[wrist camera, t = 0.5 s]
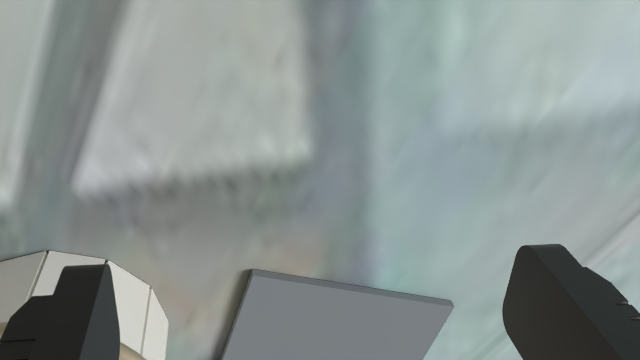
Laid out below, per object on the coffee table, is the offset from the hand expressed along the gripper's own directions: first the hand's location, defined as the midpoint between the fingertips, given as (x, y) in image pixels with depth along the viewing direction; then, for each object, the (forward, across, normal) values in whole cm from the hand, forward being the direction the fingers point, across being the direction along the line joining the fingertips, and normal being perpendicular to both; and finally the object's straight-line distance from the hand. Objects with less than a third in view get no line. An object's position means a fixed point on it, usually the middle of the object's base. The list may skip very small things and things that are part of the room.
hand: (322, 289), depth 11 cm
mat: (+20, -5, +23) cm, 31 cm away
